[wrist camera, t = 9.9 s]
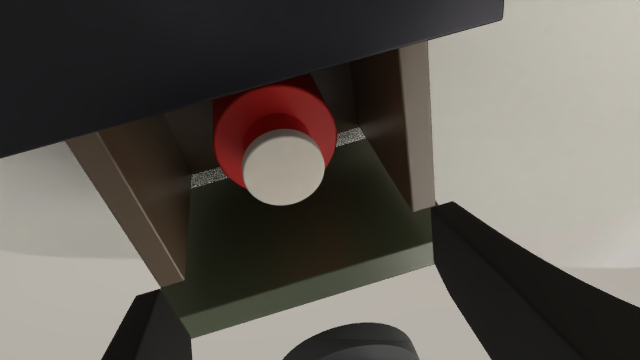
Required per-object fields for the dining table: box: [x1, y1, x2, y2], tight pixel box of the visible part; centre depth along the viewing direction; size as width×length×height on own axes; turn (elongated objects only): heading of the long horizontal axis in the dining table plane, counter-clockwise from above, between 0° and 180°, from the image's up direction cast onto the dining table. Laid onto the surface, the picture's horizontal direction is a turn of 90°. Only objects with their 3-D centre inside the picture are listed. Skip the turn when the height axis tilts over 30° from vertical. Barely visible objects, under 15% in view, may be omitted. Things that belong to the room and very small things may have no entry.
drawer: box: [65, 41, 439, 339], centre depth 15 cm, size 18×10×7 cm, turn 11°
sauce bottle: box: [213, 73, 337, 205], centre depth 14 cm, size 4×4×6 cm
